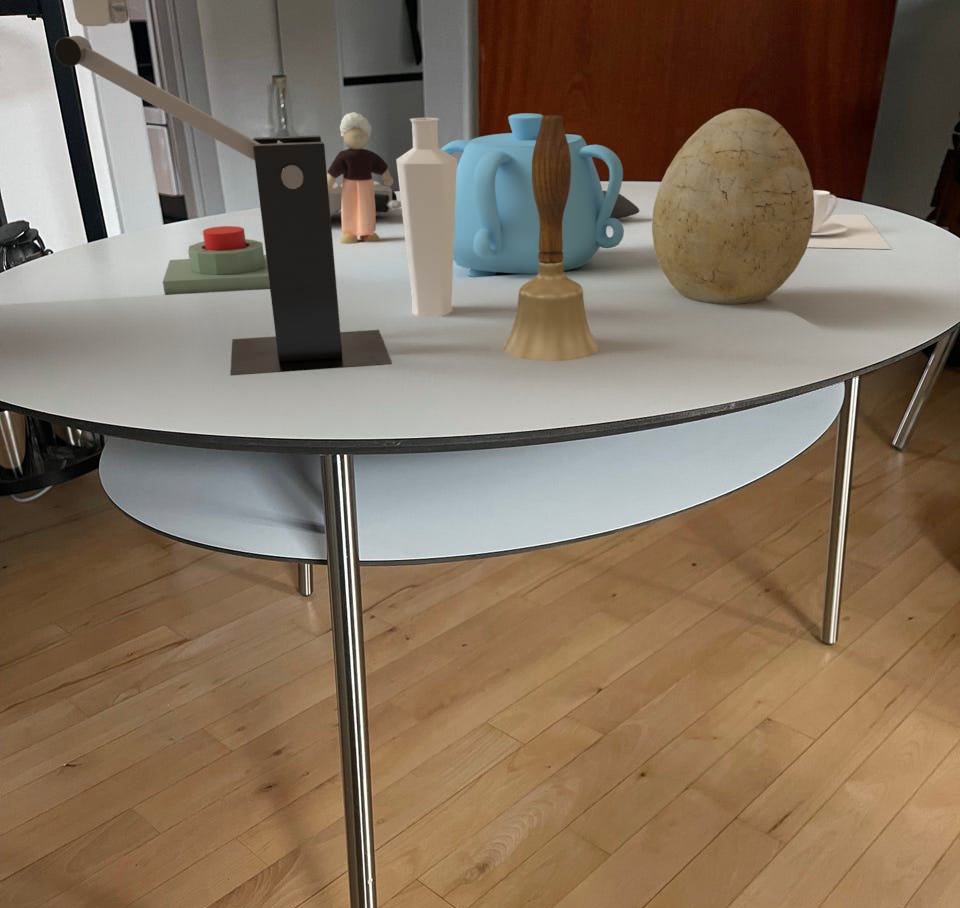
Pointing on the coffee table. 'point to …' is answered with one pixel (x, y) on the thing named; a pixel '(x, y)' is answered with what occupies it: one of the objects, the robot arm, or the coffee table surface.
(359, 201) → the grandmother figurine
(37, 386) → the coffee table surface
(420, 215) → the white faceted vase
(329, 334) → the bracket
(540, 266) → the hand bell
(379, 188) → the robot toy
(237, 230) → the button
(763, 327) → the coffee table surface
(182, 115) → the lever
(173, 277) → the control block
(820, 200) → the teacup and saucer
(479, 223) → the decorative pot
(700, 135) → the fossilized egg
